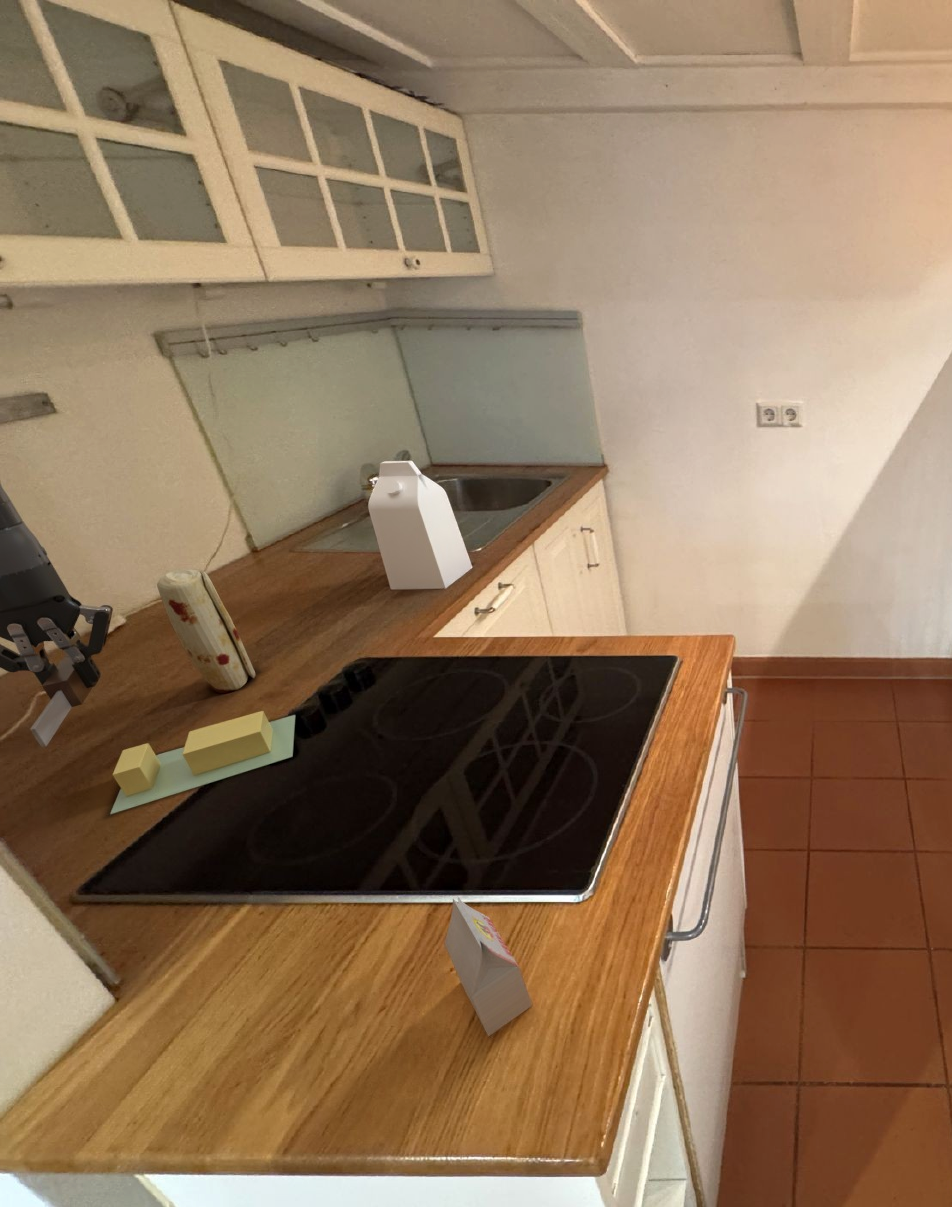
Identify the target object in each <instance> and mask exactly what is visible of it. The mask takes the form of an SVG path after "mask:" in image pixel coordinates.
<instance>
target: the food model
mask: <svg viewBox="0 0 952 1207" xmlns="http://www.w3.org/2000/svg"><path fill="white" fill-rule="evenodd" d="M156 587H157V590H158V593H159V596H160V599H161V601H162V604H163V606H164V609H165V611H166V614H167V615H166V616H167V618H168V620H169V622H170V624H171V626H172V628H173V630H174V632H175V634H176V636H177V639H178V640H179V643H180V645H181V647H182V649H183V650H184V652H185V653H186V655H187V657H188V658H189V659H190V661H191V663H192V664H193V666H194V668H196V670H197V671H198V672H199V673H200V674H201V676H202V677H203V678H204V679H205V681H206V682H207V684H208V685H209V686H210V688H211V689H212V690H213V691H215V692H216V693H219V694H227V693H230V692H233V691H237V690H239V689H241V688H242V687H243V686H245V684H246V683H247V681H248V679H249V676H250V678H252V679H255V677H256V672H255V669H254V667H253V664H252V662H251V660H250V657H249V655H248V653H247V650H246V648H245V646H244V644H243V641H242V639H241V636H240V634H239V632H238V630H237V627H236V626H235V623H234V622H233V619H232V617H231V615H230V613H229V611H228V610H227V608H226V606H225V605H224V603H223V601H222V599H221V598H220V595H219V594H218V591H217V590H216V588H215V586H214V584H213V582H212V580H211V578H210V576H209V574H207V572H206V571H205V570H203V569H200V568H199V569H197V568H194V569H177V570H173V571H168V572H166V573H165V574H164V575H162V576H161V577H160V578H159V579H158V581H157V583H156Z"/></svg>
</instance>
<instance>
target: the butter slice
mask: <svg viewBox="0 0 952 1207" xmlns="http://www.w3.org/2000/svg"><path fill="white" fill-rule="evenodd" d="M156 755H157V754H156V753H155V752H154V749H152V746H151V745H150V743H149V742H147V743H143V744H140V745H136V746H133V747H129V748H125V749H123V750H122V751H121V754H120V756H119V757H118V758H119V759H118V760H117V763H116V765H115V768H114V771H113V773H112V777H113V778H114V780H115V781H116V783H117V784H118V786H119V787H120V789H122V790H123V792H124V794H125V795H126V796H129V795H132V794H136V793H139V792H142V791H145V790H148V789H152V788H153V785H154V782H155V779H156V776H157V773H158V770H159V767H160V764H161V763H160V762H159V760H158V758H157V757H156Z"/></svg>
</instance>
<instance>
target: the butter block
mask: <svg viewBox="0 0 952 1207" xmlns="http://www.w3.org/2000/svg"><path fill="white" fill-rule="evenodd" d="M269 722H270V721H269V719H268V717H267V715H266V714H265V711H264V710H260V711H257V712H253V713H250V714H247V715H242V716H240V717H239V716H238V717H236V718H235V717H234V718H232V719H229V720H225V721H221V722H217V723H214V724H210V725H207V726H203V727H200V728H196V729H193V730H190V731H188V734H187V737H186V740H185V744H184V746H183V747H184V750H183V753H182V755H183V757H184V758H185V760H186V762H187V764H188V765H189V767H190V769H191V771H192V772H193V774H194V775H197V774H201V773H204V772H207V771H210V770H214V769H217V768H220V767H223V766H227V765H230V764H233V763H236V762H239V761H243V760H246V759H249V758H252V757H256V756H259V755H262V754H265V753H269V752H270V751H271V742H272V734H273V730H272V728H271V726H270V723H269Z"/></svg>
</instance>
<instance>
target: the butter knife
mask: <svg viewBox="0 0 952 1207" xmlns="http://www.w3.org/2000/svg"><path fill="white" fill-rule="evenodd" d="M72 664H73V661H72V660H71V659H70V658H69V657H68V656H64V657H63V658H62V659H61V660H60V662H59V663H58V664H57V666H56V667H57V668H56V669H55V670H54V671H53V673H52V674H51V675H50V676H49V678H48V679H47V680H46V682H45V683H44V684H43V686H42V685H41V687H42V688H43V690H44V692H45V693H46V695H47V696H48V699H49V700H50V701H49V702H48V703H47V705H46V706H45V708H44V709H43V711H42V712H41V713H40V715H39V716H38V718H37V719H36V720H35V721H34V723H33V724H32V726H31V727H30V728H29V731H30V733H31V734H32V736H33V737H34V738H35V740H36V741H37V744H39V746H40V747H41V748H45V747H47V746H48V745H49V743H50V742H51V740H52V739H53V737H54V736H55V734H56V732H57V731H58V729H59V728H60V726H61V725H62V723H63V722H64V720H65V719H66V718H67V716H68V714H69V713H70V711H71V709H72V708H74V707H78V706H83V703H84V702H85V700H86V699H87V697H88V696H89V694H90V692H91V691H92V689H93V687H90V688H87V687H86V686H85V685H84V683H83V681H82V680H81V678H80V676H79V675H78V673H77V672H76V670H75V669H74V668H73V666H72Z"/></svg>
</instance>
